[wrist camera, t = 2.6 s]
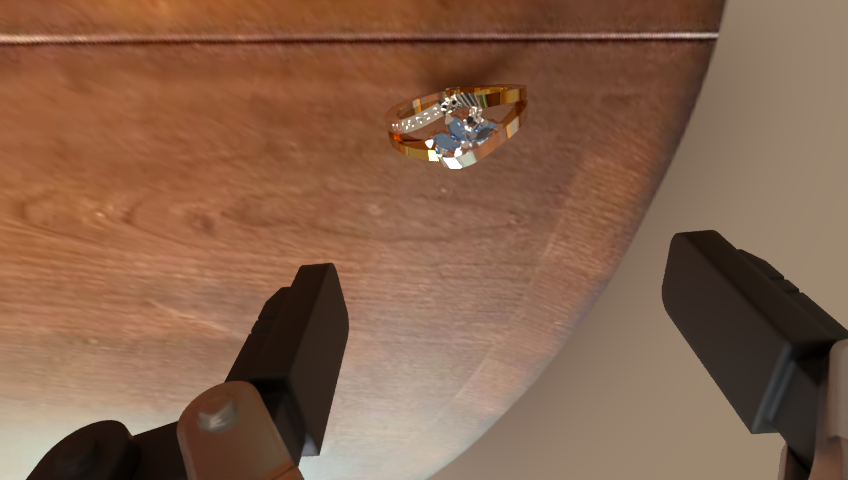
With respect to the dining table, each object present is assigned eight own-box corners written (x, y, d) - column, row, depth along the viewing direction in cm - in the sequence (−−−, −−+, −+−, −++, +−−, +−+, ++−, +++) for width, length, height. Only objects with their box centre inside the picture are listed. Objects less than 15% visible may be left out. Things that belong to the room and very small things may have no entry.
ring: (514, 55, 24) (545, 87, 17) (515, 114, 25) (544, 165, 19) (387, 72, 24) (368, 109, 18) (397, 129, 26) (382, 183, 19)
